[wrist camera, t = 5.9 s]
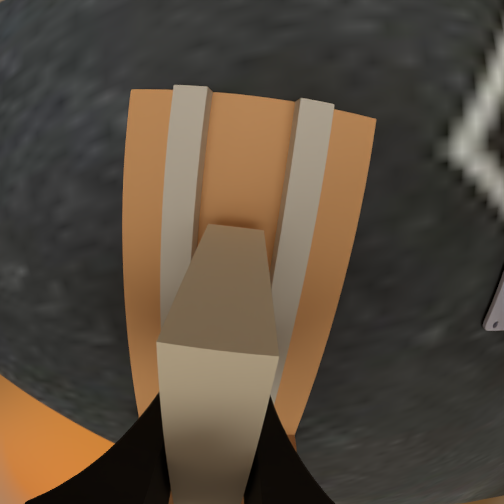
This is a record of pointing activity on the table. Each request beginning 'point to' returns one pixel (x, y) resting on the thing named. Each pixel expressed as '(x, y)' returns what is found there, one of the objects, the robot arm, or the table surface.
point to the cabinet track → (241, 215)
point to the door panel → (217, 366)
